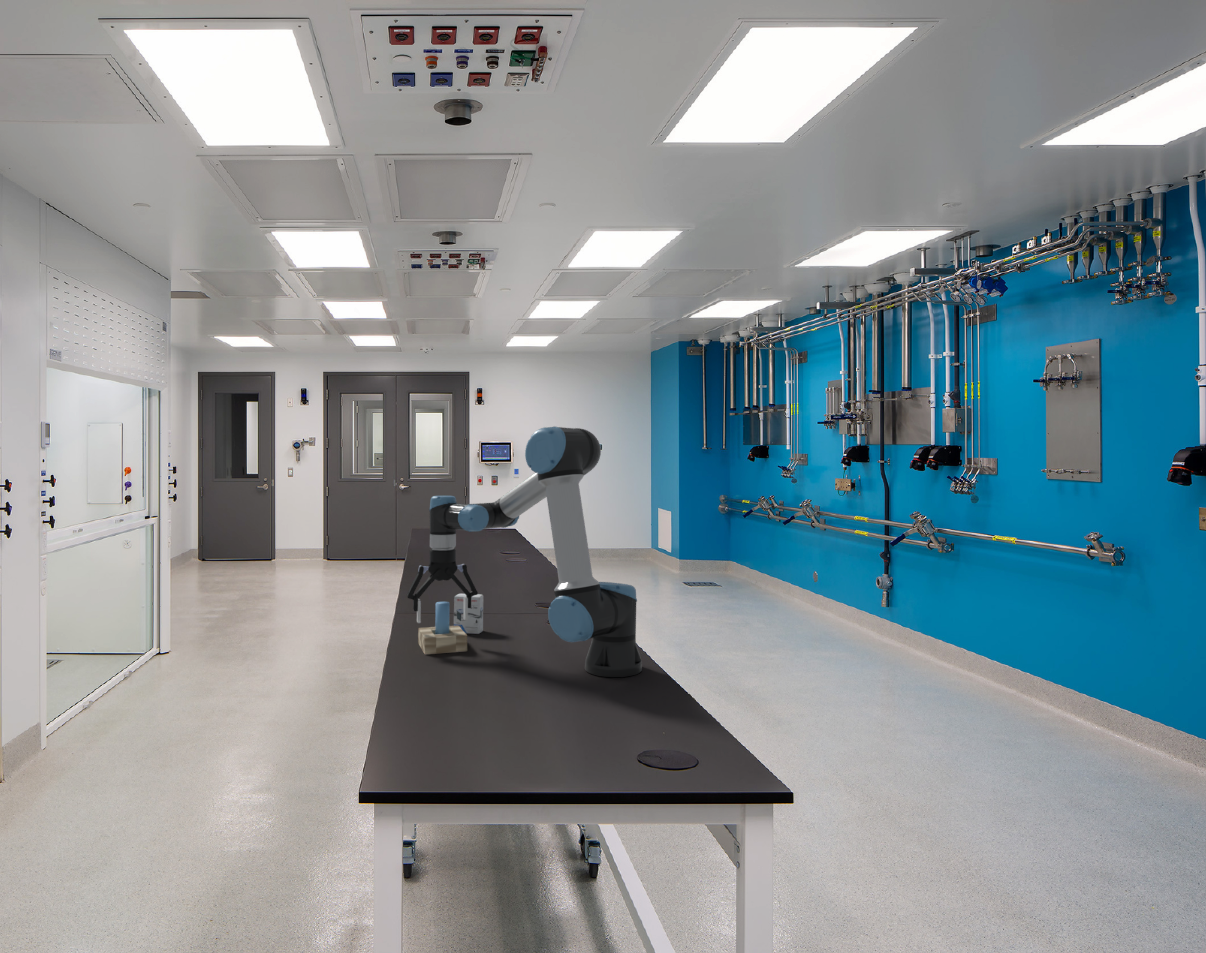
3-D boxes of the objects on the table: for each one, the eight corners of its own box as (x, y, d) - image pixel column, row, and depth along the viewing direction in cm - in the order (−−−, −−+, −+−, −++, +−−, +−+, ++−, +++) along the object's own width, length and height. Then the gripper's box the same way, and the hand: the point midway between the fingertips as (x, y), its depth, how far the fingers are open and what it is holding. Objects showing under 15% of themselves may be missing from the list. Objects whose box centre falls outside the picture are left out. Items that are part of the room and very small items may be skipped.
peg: (450, 648, 226) (450, 603, 225) (436, 649, 224) (436, 604, 224) (448, 644, 230) (448, 601, 229) (434, 646, 228) (434, 602, 228)
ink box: (452, 633, 245) (453, 596, 244) (457, 629, 250) (457, 593, 249) (479, 634, 244) (479, 597, 243) (483, 630, 249) (483, 594, 248)
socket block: (467, 651, 222) (467, 635, 222) (424, 654, 218) (424, 638, 218) (458, 640, 236) (458, 625, 235) (418, 643, 231) (418, 628, 231)
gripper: (482, 545, 234) (481, 615, 235) (397, 548, 225) (397, 620, 226) (487, 548, 227) (487, 620, 228) (400, 551, 218) (400, 626, 219)
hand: (442, 620), depth 227 cm, fingers open, 13 cm apart
